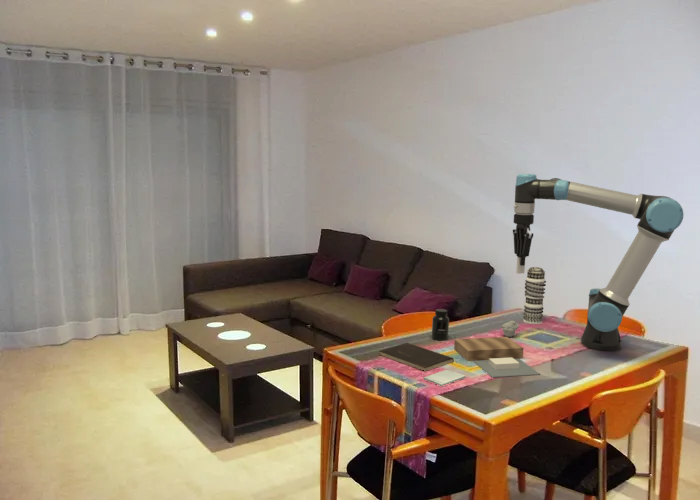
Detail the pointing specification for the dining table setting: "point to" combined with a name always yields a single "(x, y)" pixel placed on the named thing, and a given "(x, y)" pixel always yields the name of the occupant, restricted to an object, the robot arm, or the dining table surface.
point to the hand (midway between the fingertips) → (520, 273)
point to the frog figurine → (510, 328)
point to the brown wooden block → (488, 348)
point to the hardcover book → (416, 356)
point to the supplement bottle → (440, 325)
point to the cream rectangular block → (503, 363)
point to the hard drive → (444, 377)
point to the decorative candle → (534, 295)
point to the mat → (521, 371)
